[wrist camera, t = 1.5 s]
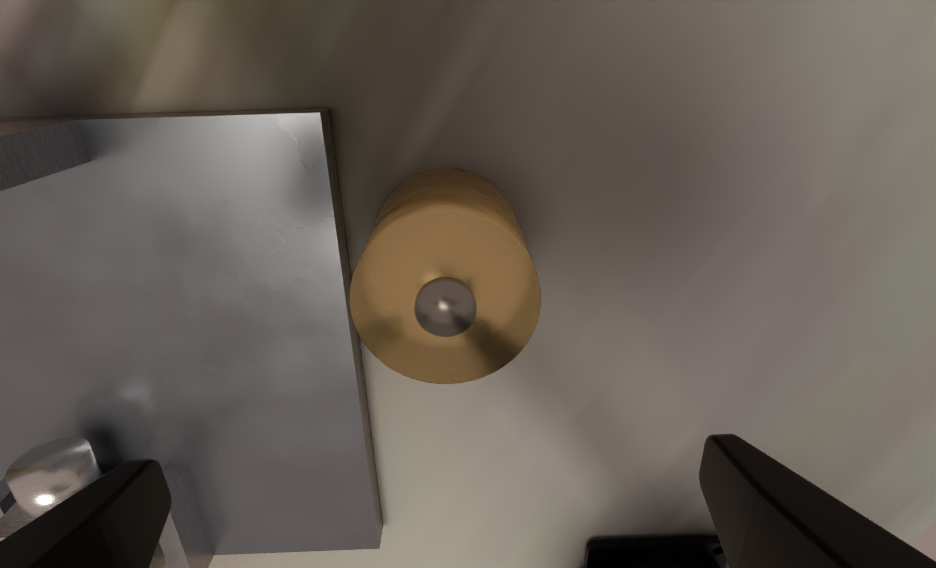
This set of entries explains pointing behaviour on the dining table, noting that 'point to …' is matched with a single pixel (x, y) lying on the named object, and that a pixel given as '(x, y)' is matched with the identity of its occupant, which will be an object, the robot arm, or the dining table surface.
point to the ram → (52, 483)
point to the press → (190, 321)
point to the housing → (445, 280)
